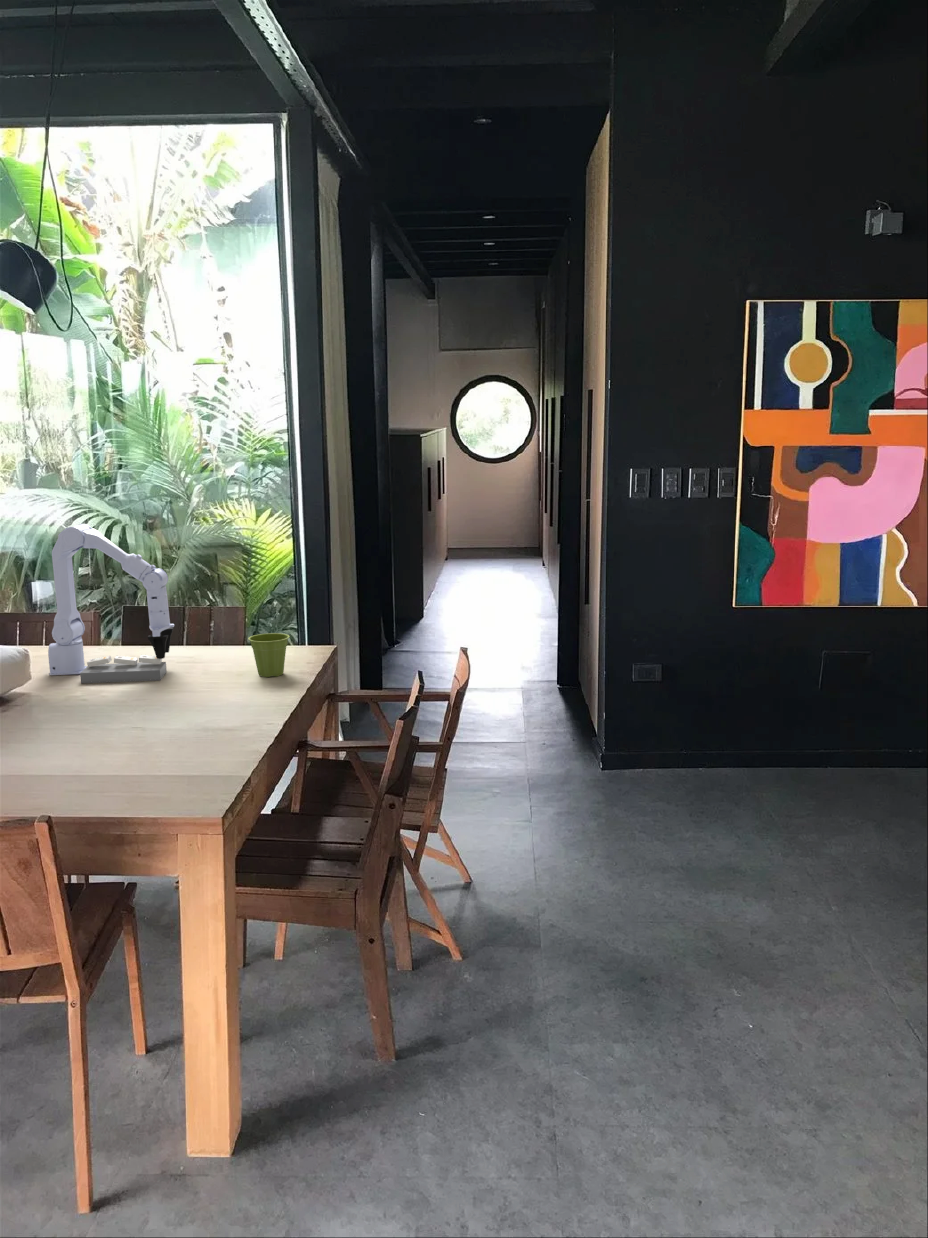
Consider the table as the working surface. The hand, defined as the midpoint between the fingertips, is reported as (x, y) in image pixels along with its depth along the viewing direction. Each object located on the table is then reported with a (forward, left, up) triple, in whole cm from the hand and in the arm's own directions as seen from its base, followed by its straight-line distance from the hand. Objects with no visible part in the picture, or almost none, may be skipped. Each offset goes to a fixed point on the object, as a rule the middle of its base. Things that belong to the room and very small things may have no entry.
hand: (163, 655), depth 288 cm
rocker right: (-3, -3, -2) cm, 5 cm away
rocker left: (-17, -3, -2) cm, 18 cm away
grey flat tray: (-10, -5, -5) cm, 13 cm away
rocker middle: (-10, -3, -2) cm, 11 cm away
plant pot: (+32, -8, -5) cm, 33 cm away
